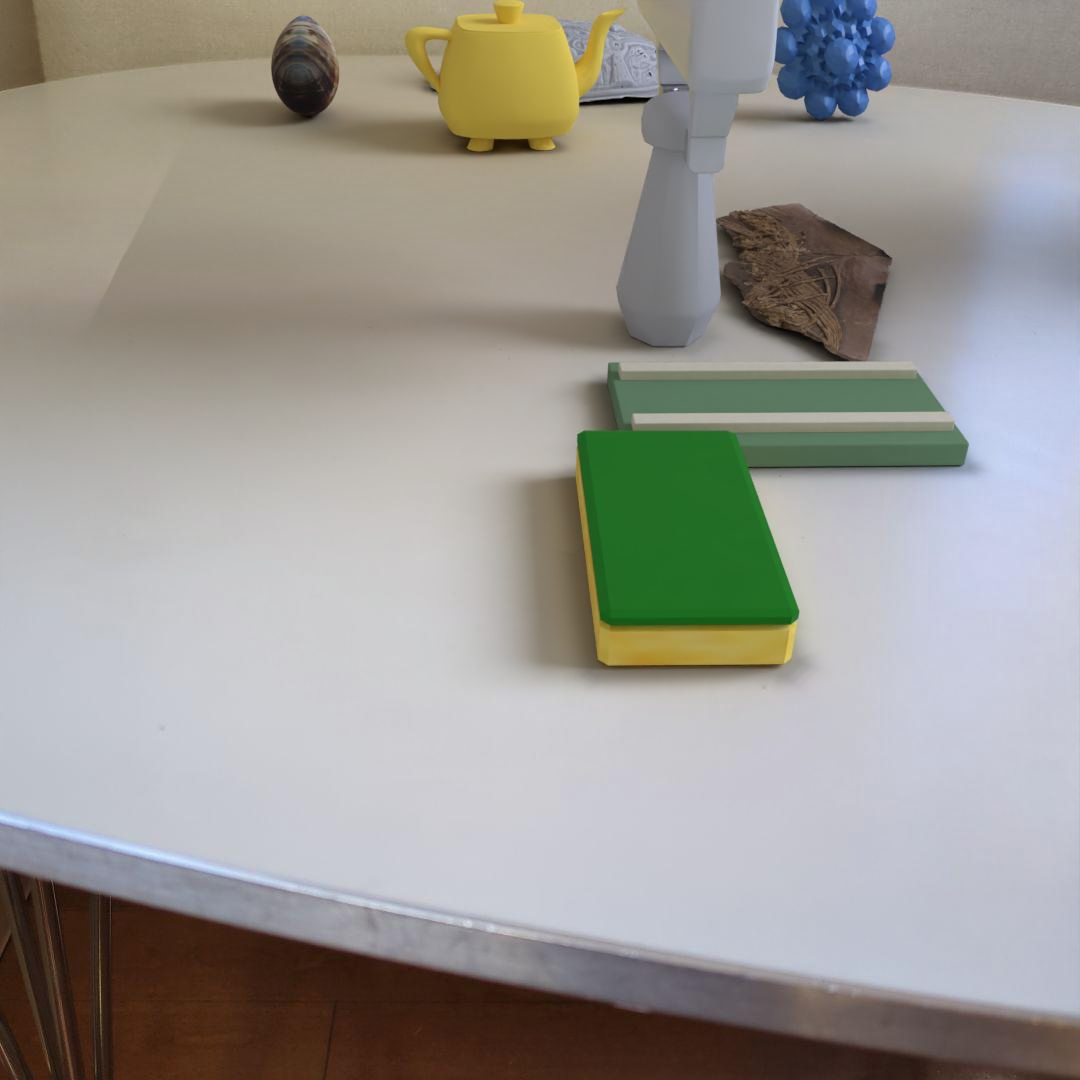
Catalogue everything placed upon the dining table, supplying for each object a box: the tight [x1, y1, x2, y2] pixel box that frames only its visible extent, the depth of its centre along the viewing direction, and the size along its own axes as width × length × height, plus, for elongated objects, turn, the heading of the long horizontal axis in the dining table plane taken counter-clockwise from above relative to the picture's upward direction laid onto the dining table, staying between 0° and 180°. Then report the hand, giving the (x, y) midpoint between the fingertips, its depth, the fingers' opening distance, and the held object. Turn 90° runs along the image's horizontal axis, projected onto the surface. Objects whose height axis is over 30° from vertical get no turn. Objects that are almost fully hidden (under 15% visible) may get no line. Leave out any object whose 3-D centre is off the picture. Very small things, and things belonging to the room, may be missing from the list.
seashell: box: [270, 14, 340, 117], centre depth 104 cm, size 10×6×8 cm, turn 2°
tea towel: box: [606, 360, 970, 468], centre depth 59 cm, size 16×9×2 cm, turn 93°
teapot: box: [404, 0, 628, 152], centre depth 99 cm, size 18×11×11 cm, turn 98°
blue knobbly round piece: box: [774, 0, 896, 121], centre depth 105 cm, size 12×7×12 cm, turn 96°
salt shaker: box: [615, 91, 722, 347], centre depth 65 cm, size 6×6×13 cm
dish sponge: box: [575, 429, 800, 666], centre depth 49 cm, size 7×14×2 cm, turn 2°
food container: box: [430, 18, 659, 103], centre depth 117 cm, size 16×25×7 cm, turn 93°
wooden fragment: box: [716, 202, 893, 362], centre depth 76 cm, size 26×11×1 cm, turn 176°
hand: (687, 142), depth 63 cm, fingers open, 8 cm apart
